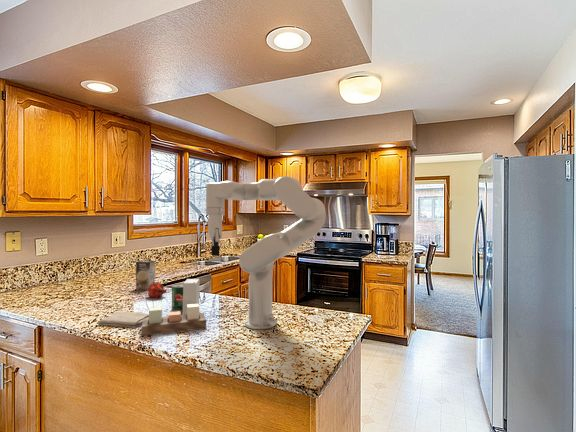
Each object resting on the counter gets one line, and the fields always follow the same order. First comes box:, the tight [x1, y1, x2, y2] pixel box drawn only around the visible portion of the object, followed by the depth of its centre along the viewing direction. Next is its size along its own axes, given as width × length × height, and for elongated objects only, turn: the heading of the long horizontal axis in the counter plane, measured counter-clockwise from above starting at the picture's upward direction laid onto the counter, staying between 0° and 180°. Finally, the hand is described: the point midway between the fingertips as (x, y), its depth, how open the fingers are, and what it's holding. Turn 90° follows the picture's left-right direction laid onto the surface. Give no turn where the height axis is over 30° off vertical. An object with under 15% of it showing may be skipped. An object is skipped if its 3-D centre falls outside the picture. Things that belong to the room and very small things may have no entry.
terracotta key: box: [168, 311, 182, 322], centre depth 129 cm, size 4×4×5 cm
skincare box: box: [182, 278, 200, 315], centre depth 147 cm, size 8×6×15 cm
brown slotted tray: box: [141, 312, 207, 336], centre depth 129 cm, size 23×10×3 cm, turn 110°
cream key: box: [187, 303, 200, 320], centre depth 132 cm, size 4×4×5 cm
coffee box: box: [135, 259, 156, 290], centre depth 197 cm, size 9×6×16 cm
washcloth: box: [97, 310, 149, 328], centre depth 136 cm, size 12×18×3 cm, turn 81°
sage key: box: [148, 306, 163, 324], centre depth 127 cm, size 4×4×5 cm
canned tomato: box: [171, 283, 183, 312], centre depth 155 cm, size 8×8×11 cm
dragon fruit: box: [146, 281, 167, 299], centre depth 176 cm, size 8×8×12 cm
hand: (215, 255), depth 139 cm, fingers closed
